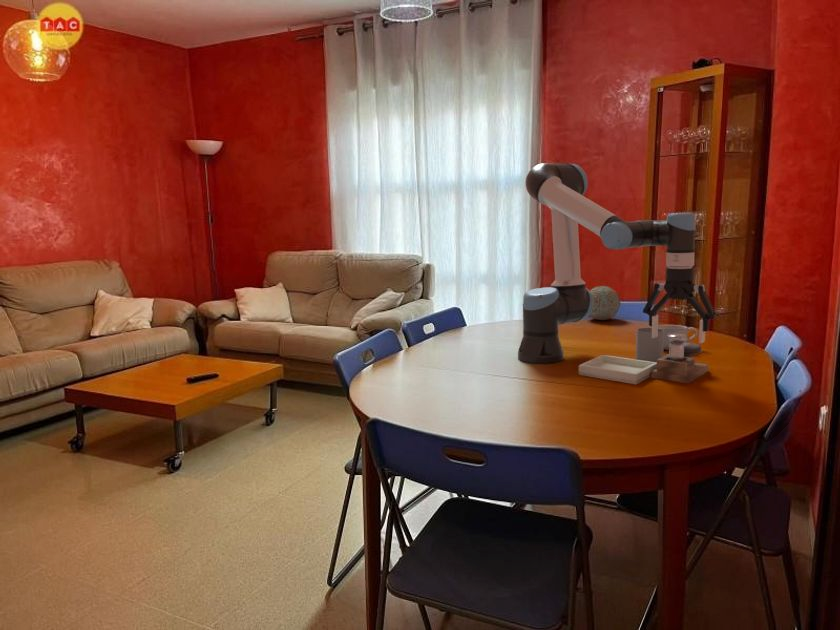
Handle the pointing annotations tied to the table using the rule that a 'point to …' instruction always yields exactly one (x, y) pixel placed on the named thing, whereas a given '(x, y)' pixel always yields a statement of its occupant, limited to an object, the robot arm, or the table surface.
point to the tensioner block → (680, 366)
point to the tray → (618, 369)
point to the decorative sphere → (604, 303)
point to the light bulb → (676, 346)
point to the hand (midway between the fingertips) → (677, 339)
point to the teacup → (676, 330)
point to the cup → (649, 345)
